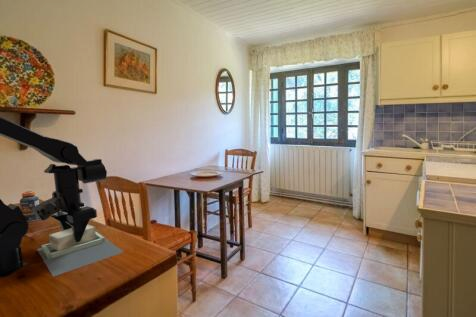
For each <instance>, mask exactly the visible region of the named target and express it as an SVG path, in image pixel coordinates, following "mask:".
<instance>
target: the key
mask: <svg viewBox="0 0 476 317" xmlns="http://www.w3.org/2000/svg"><path fill="white" fill-rule="evenodd" d="M60 228H61V229H62V227H61V225H58V226H54V227H51V228H46V229H45V228H44V229H41V230H38V231H34V232H28V233H26V234H25V236H24V237H28V238H31V237H34V236H39V235H42V233H43V232H47V231H52V230H57V229H60Z"/></svg>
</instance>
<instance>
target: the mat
mask: <svg viewBox="0 0 476 317" xmlns="http://www.w3.org/2000/svg"><path fill="white" fill-rule="evenodd" d="M93 240H97V238H95V239H93ZM93 240H90V241H93ZM90 241H87V242H90ZM87 242H84V243H87ZM81 244H83V243H81ZM78 245H80V244H78ZM75 246H76V245H75ZM36 250H37V252H38V254H39V255H40V257H41V259H42V261H43V262H44V264H45V265H46V267H47V269H48V270H49V272H50V274H51V276H52V277H53V278H54V277H56V276H60V275H62V274H66V273H69V272H71V271H74V270H78V269H81V268H83V267H85V266H88V265H91V264H96V263H98V262H100V261H103V260H105V259H108V258H112V257H115V256H118V255H120V254H123V253H124V250H122V249H121V248H119V247H118V246H116V245H115V244H114V243H112V242H111V241H109V240H108V239H107V238H105V242H104V243H100V244H97V245H94V246H91V247H87V248H84V249H81V250H77V251H74V252H71V253H68V254H64V255H61V256H58V257H55V258H51V259H48V258H47V257H46V255H45V253H44V252H43V250H42V247H40V248H37V249H36ZM48 250H49V251H50V253H53V252H56V251H57V250H55V249H53V248H49V249H48Z"/></svg>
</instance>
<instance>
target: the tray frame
mask: <svg viewBox="0 0 476 317" xmlns="http://www.w3.org/2000/svg"><path fill="white" fill-rule="evenodd" d="M95 233H96V238H97V240H93V241H90V242H87V243H83V244H80V245H76V246H73V247H70V248H66V249H63V250H59V251H56V252H53V253H50V251H49V250H48V249H49V248H51V247H50V242H49V243H46V244H42V245H41V248H42V250H43V252H44V253H45V255H46V257H47V258H48V259H51V258H55V257H58V256H61V255H64V254H68V253H71V252H74V251H77V250H81V249H84V248H87V247H91V246H94V245H97V244H100V243H104V242H105V239H106V238H105V237H104V236H103V235H102V234H100V233H99V232H97V231H96V230H95Z"/></svg>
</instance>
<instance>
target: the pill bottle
mask: <svg viewBox="0 0 476 317" xmlns="http://www.w3.org/2000/svg"><path fill="white" fill-rule="evenodd" d="M38 204H40V200H39V196H37V195H36V193H35V191H34V190H28V191H24V192H22V193H21V198H20V199H19V205H20V206H19V207H20V209H21V211H22V213H23V215H24V216H25V217H27V218H29V220H26V221H27V223H29V222H34V221H38V220H39V219H37V217H36V216H35V214H34V213H33V211H32V208H33V207H35V206H36V205H38Z"/></svg>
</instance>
